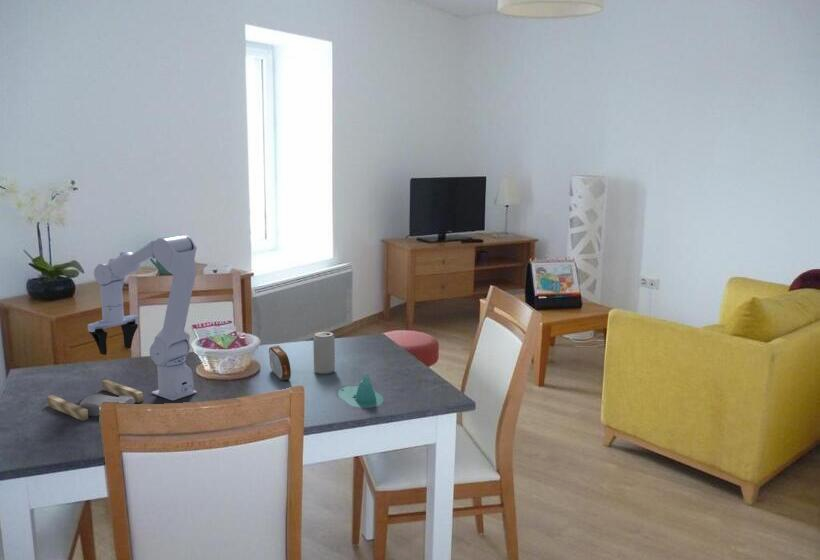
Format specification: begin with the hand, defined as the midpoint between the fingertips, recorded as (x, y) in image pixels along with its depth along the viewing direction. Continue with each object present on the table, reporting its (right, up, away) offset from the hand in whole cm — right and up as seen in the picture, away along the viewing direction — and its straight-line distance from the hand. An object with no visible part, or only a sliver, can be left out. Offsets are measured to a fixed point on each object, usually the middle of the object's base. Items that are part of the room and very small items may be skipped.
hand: (115, 350), depth 199 cm
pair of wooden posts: (+1, -12, -15) cm, 19 cm away
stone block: (+6, -14, -19) cm, 24 cm away
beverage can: (+58, -8, +13) cm, 60 cm away
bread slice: (+45, -9, +9) cm, 47 cm away
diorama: (+71, -12, -7) cm, 72 cm away
